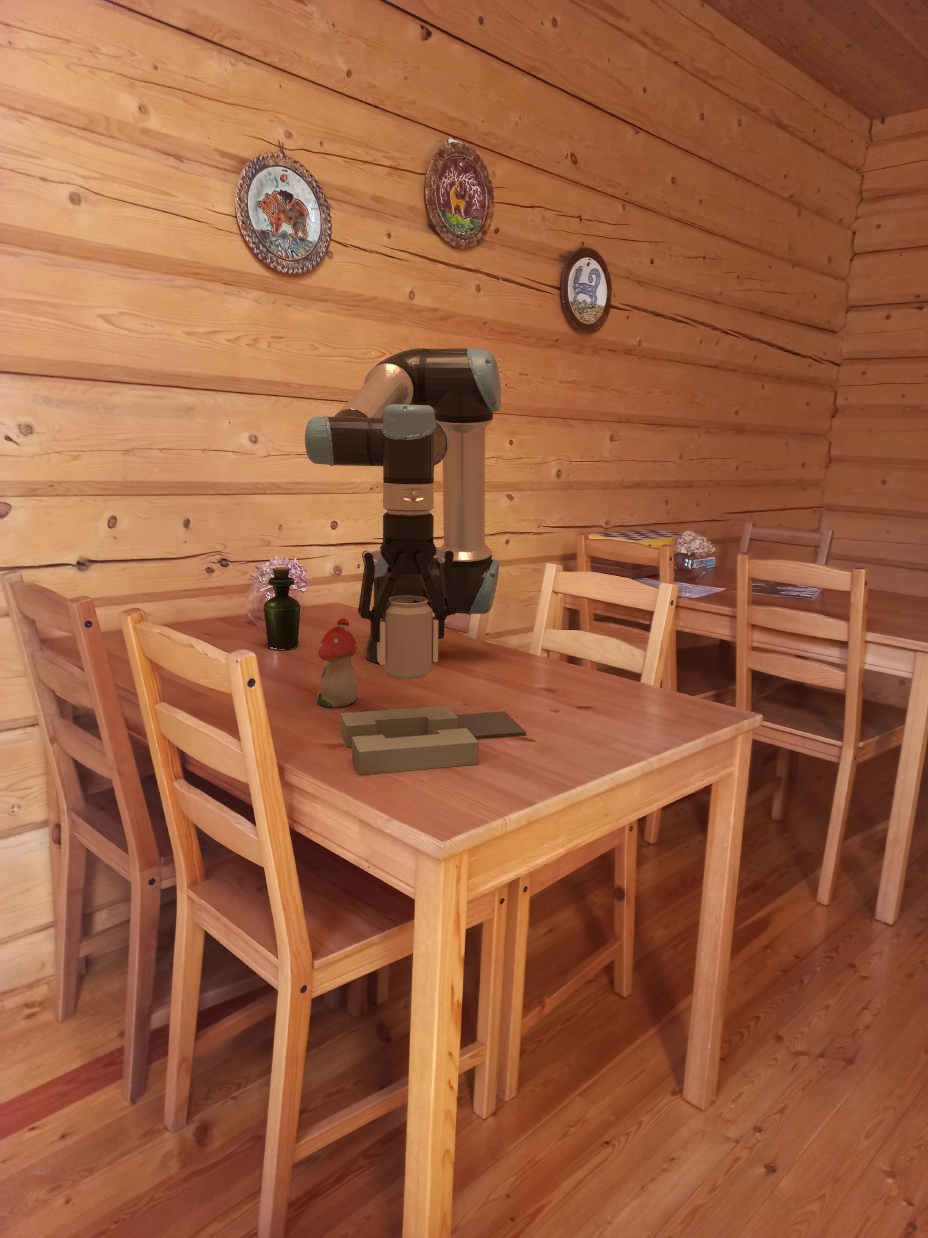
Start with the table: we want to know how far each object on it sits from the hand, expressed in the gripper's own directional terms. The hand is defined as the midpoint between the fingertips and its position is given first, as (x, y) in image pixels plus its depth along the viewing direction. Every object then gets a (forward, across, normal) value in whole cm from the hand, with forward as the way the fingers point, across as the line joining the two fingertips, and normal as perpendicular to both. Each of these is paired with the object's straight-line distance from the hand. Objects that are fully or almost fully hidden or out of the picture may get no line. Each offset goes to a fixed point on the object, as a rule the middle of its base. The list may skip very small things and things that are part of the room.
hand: (407, 660), depth 136 cm
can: (+2, 0, 0) cm, 2 cm away
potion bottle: (+15, -13, +69) cm, 72 cm away
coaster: (+14, +15, +7) cm, 22 cm away
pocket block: (+14, 0, 0) cm, 14 cm away
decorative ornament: (+15, -7, +26) cm, 30 cm away
